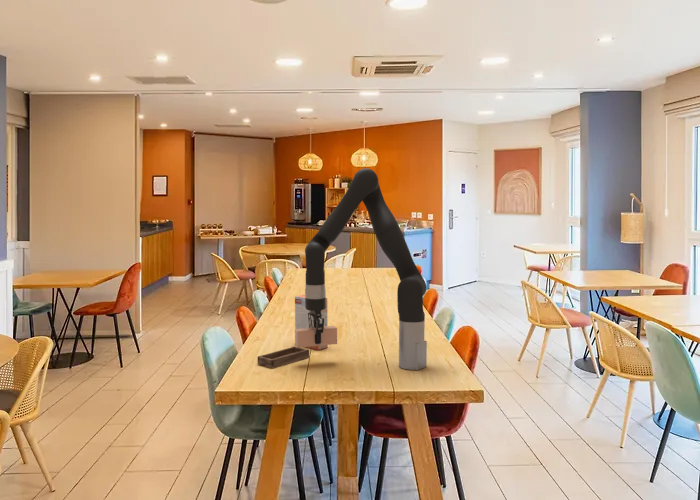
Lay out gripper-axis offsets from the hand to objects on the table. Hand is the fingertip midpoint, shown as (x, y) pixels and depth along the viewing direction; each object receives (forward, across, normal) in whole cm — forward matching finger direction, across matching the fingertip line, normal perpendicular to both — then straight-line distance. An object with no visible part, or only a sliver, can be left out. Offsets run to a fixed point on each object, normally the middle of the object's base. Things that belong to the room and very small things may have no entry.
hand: (316, 342), depth 214 cm
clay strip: (+1, 0, 0) cm, 1 cm away
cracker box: (+8, +25, -5) cm, 27 cm away
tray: (+8, +8, +10) cm, 16 cm away
